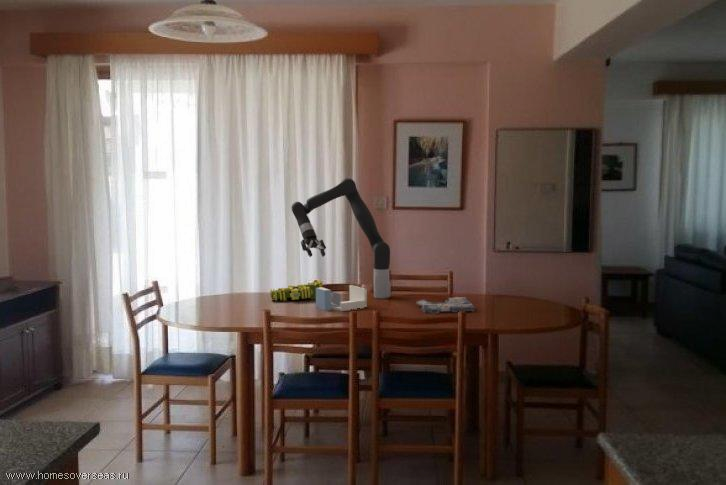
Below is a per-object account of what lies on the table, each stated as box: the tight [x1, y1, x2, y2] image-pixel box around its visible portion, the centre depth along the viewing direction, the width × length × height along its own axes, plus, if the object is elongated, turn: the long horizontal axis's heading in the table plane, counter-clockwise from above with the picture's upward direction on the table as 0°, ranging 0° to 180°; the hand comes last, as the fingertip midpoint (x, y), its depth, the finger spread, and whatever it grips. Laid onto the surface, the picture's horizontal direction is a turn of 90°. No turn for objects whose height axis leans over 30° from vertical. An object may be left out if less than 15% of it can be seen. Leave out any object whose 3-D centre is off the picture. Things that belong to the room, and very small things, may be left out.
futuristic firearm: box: [415, 296, 475, 315], centre depth 333 cm, size 6×28×20 cm
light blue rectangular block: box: [315, 287, 332, 312], centre depth 335 cm, size 4×10×11 cm, turn 33°
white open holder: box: [331, 284, 368, 312], centre depth 340 cm, size 16×16×10 cm
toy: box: [269, 279, 324, 302], centre depth 362 cm, size 17×10×30 cm
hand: (317, 256), depth 342 cm, fingers open, 8 cm apart
